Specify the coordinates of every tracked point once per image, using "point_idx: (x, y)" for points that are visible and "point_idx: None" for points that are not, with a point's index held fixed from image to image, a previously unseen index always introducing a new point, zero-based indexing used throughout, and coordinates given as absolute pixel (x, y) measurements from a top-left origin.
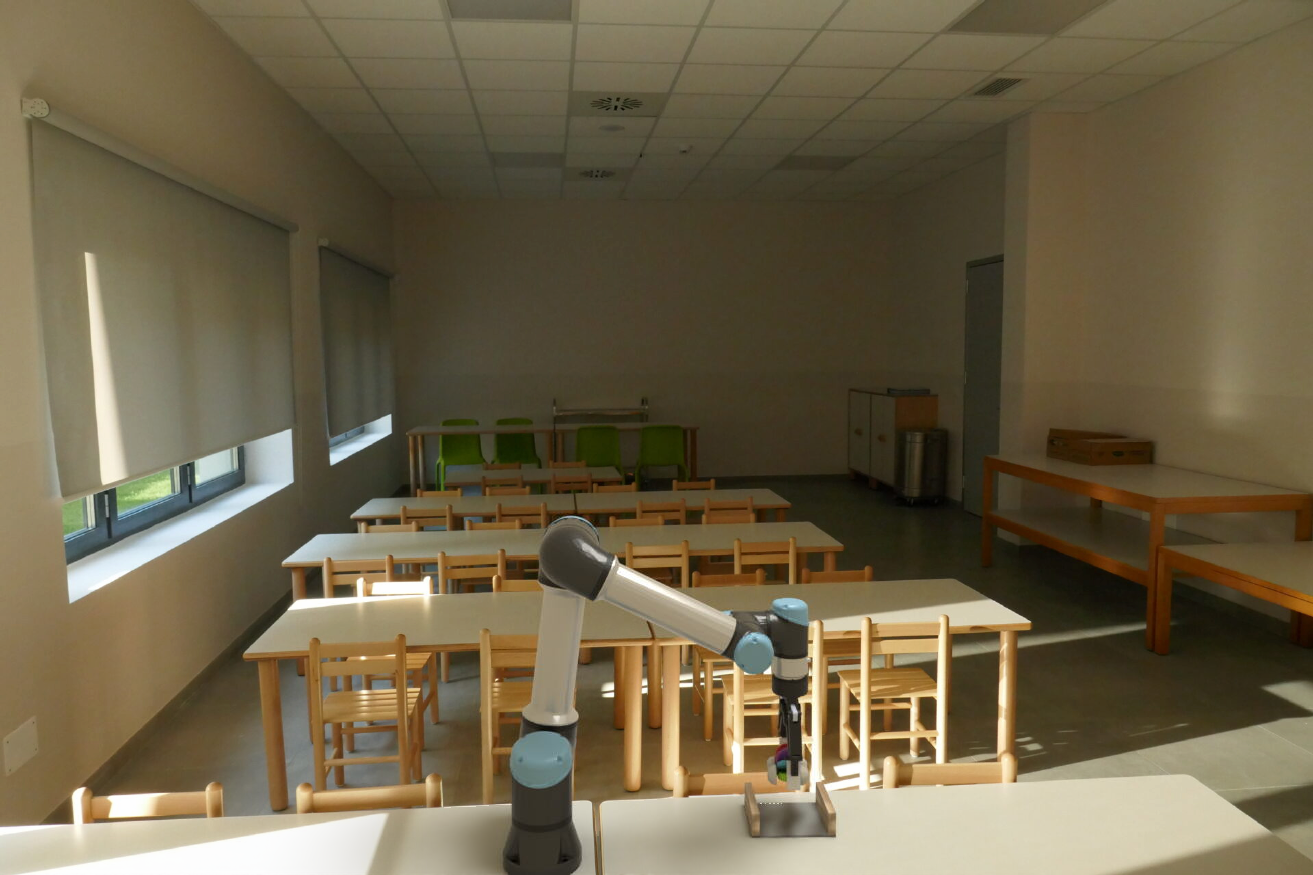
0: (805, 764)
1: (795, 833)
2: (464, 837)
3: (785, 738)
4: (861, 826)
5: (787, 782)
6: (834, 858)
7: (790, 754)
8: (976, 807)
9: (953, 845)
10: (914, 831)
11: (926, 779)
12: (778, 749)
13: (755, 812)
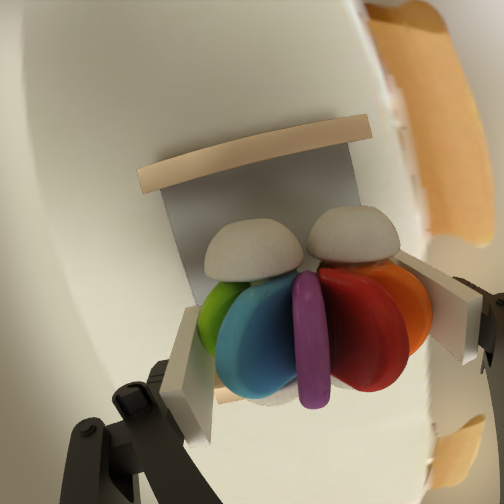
0: (337, 386)
1: (198, 282)
2: None
3: (468, 331)
4: (280, 406)
5: (181, 324)
6: (127, 364)
7: (69, 448)
8: (362, 501)
9: (245, 498)
10: (278, 468)
11: (447, 445)
12: (370, 302)
13: (148, 178)
